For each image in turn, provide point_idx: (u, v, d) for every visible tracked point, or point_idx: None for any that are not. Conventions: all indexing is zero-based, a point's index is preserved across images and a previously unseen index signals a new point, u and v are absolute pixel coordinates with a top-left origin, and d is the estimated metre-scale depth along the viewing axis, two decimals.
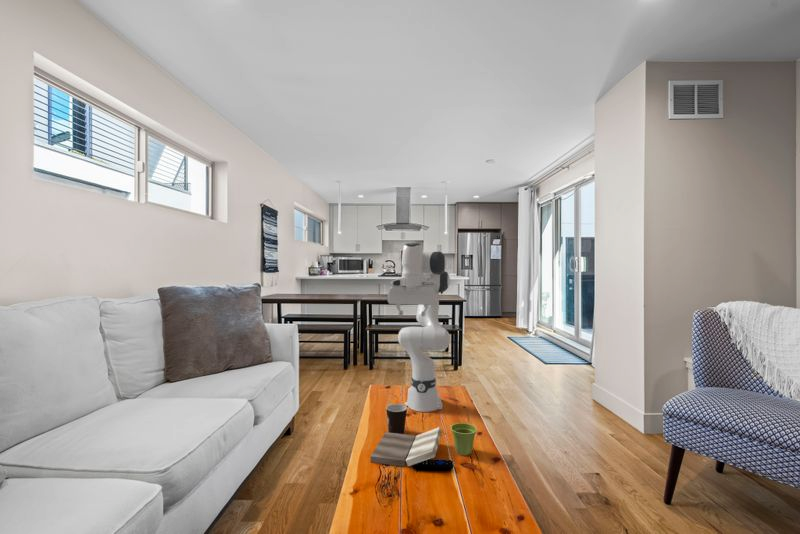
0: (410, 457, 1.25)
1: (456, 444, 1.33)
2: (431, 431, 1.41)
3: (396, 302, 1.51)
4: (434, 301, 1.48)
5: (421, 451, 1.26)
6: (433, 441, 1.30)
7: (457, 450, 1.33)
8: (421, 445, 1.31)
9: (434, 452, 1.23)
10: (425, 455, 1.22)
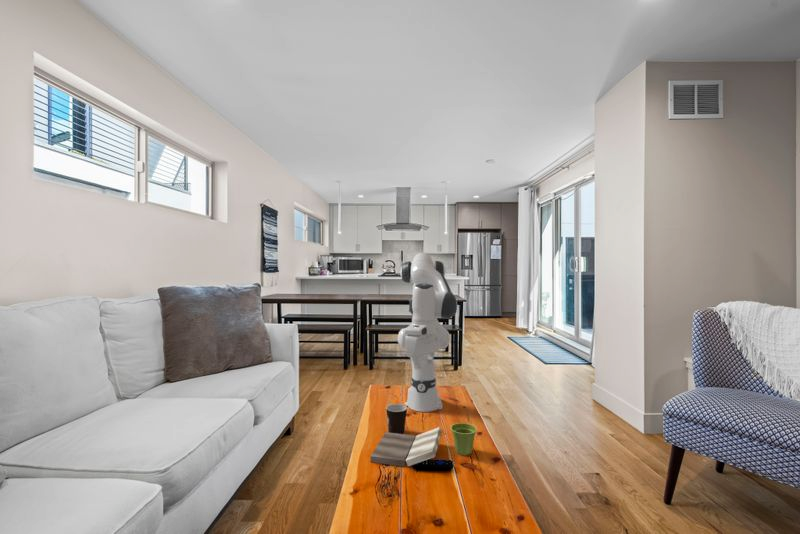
0: (410, 457, 1.25)
1: (456, 444, 1.33)
2: (431, 431, 1.41)
3: (419, 354, 1.28)
4: (439, 346, 1.41)
5: (421, 451, 1.26)
6: (433, 441, 1.30)
7: (457, 450, 1.33)
8: (421, 445, 1.31)
9: (434, 452, 1.23)
10: (425, 455, 1.22)
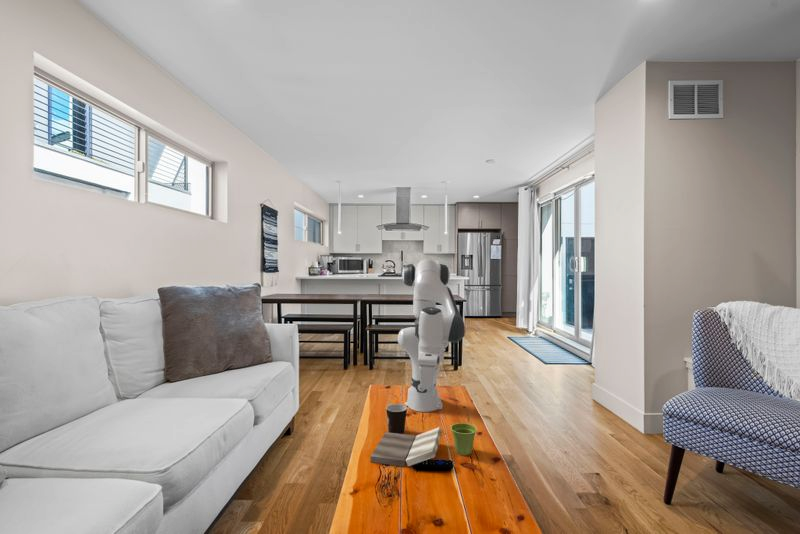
0: (410, 457, 1.25)
1: (456, 444, 1.33)
2: (431, 431, 1.41)
3: (433, 384, 1.21)
4: None
5: (421, 451, 1.26)
6: (433, 441, 1.30)
7: (457, 450, 1.33)
8: (421, 445, 1.31)
9: (434, 452, 1.23)
10: (425, 455, 1.22)
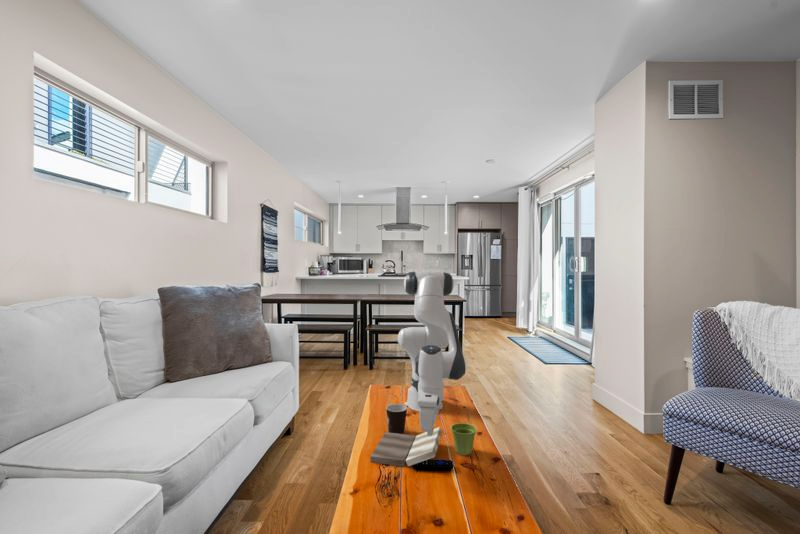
0: (410, 457, 1.25)
1: (456, 444, 1.33)
2: None
3: (433, 426, 1.21)
4: None
5: (421, 451, 1.26)
6: (433, 441, 1.30)
7: (457, 450, 1.33)
8: (421, 445, 1.31)
9: (434, 452, 1.23)
10: (425, 455, 1.22)
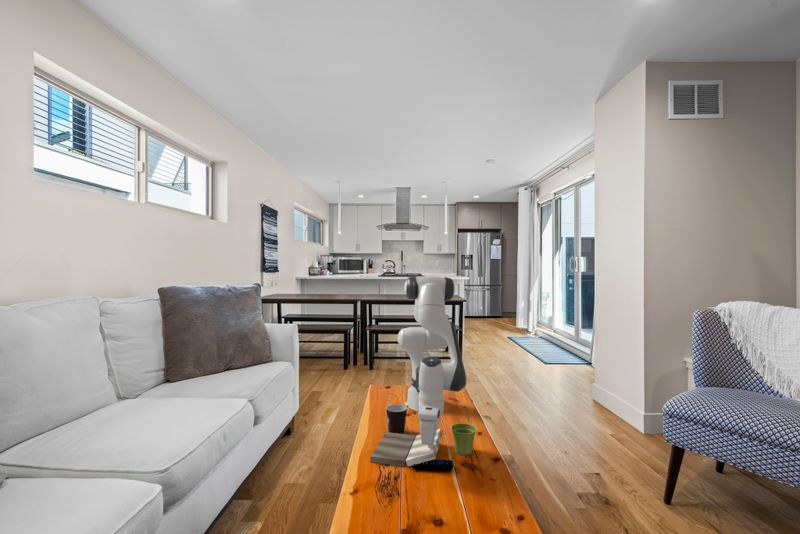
0: (410, 457, 1.25)
1: (456, 444, 1.33)
2: None
3: (433, 439, 1.21)
4: (439, 418, 1.36)
5: (422, 452, 1.26)
6: (434, 443, 1.30)
7: (457, 450, 1.33)
8: (421, 446, 1.31)
9: (435, 454, 1.23)
10: (425, 456, 1.22)
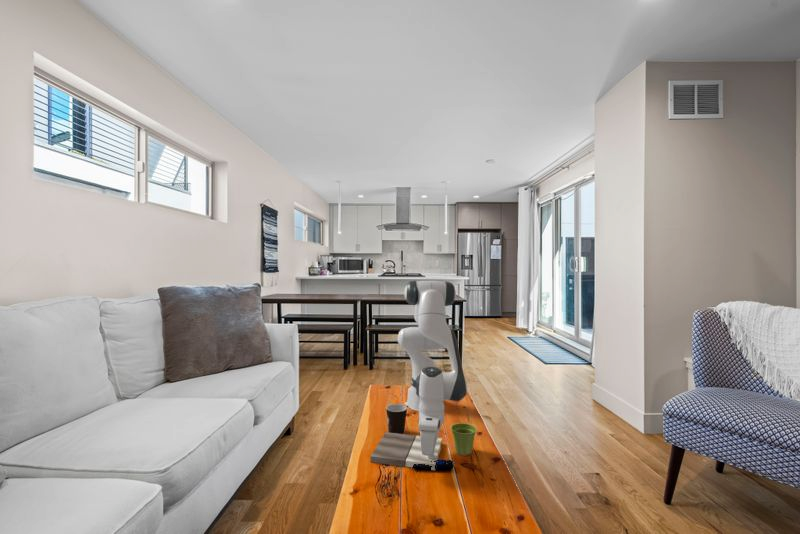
0: (410, 459, 1.25)
1: (456, 444, 1.33)
2: None
3: (434, 449, 1.20)
4: (439, 428, 1.36)
5: (423, 458, 1.26)
6: (435, 452, 1.30)
7: (457, 450, 1.33)
8: None
9: None
10: (426, 464, 1.22)
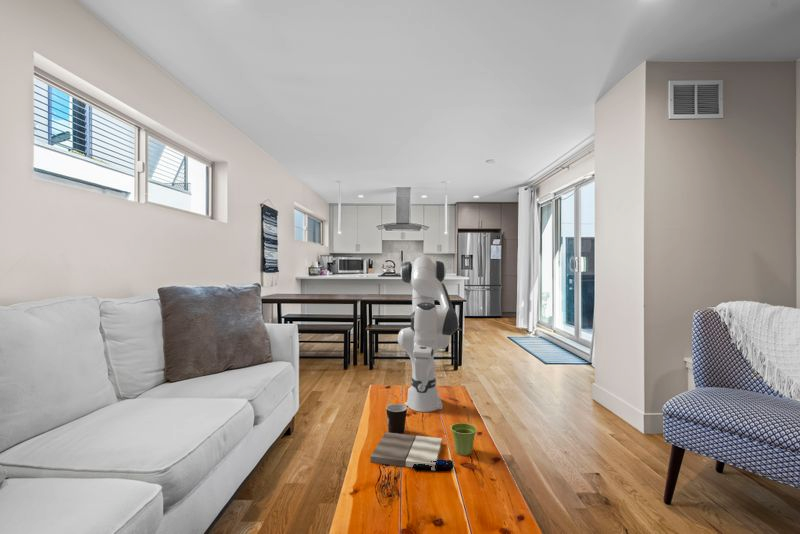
0: (410, 459, 1.25)
1: (456, 444, 1.33)
2: (433, 439, 1.40)
3: (427, 375, 1.30)
4: (433, 361, 1.45)
5: (423, 458, 1.26)
6: (435, 452, 1.30)
7: (457, 450, 1.33)
8: (422, 450, 1.31)
9: None
10: (426, 464, 1.22)
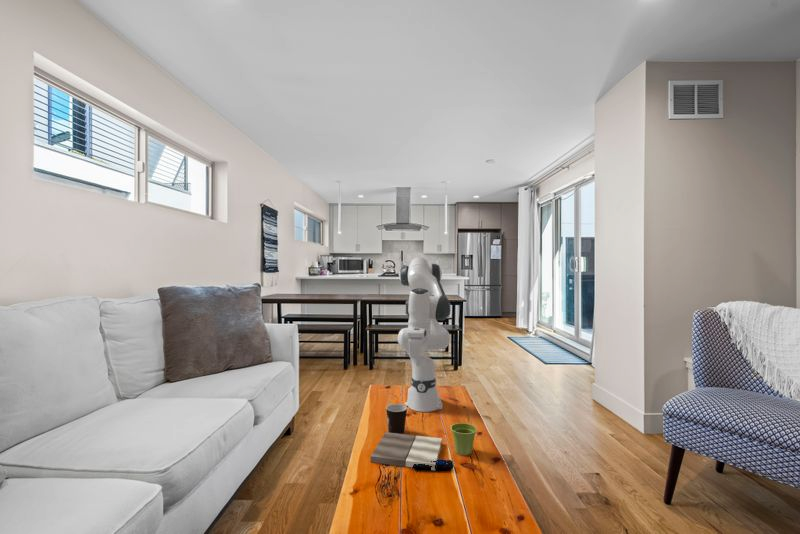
0: (410, 459, 1.25)
1: (456, 444, 1.33)
2: (433, 439, 1.40)
3: (420, 355, 1.38)
4: None
5: (423, 458, 1.26)
6: (435, 452, 1.30)
7: (457, 450, 1.33)
8: (422, 450, 1.31)
9: None
10: (426, 464, 1.22)
